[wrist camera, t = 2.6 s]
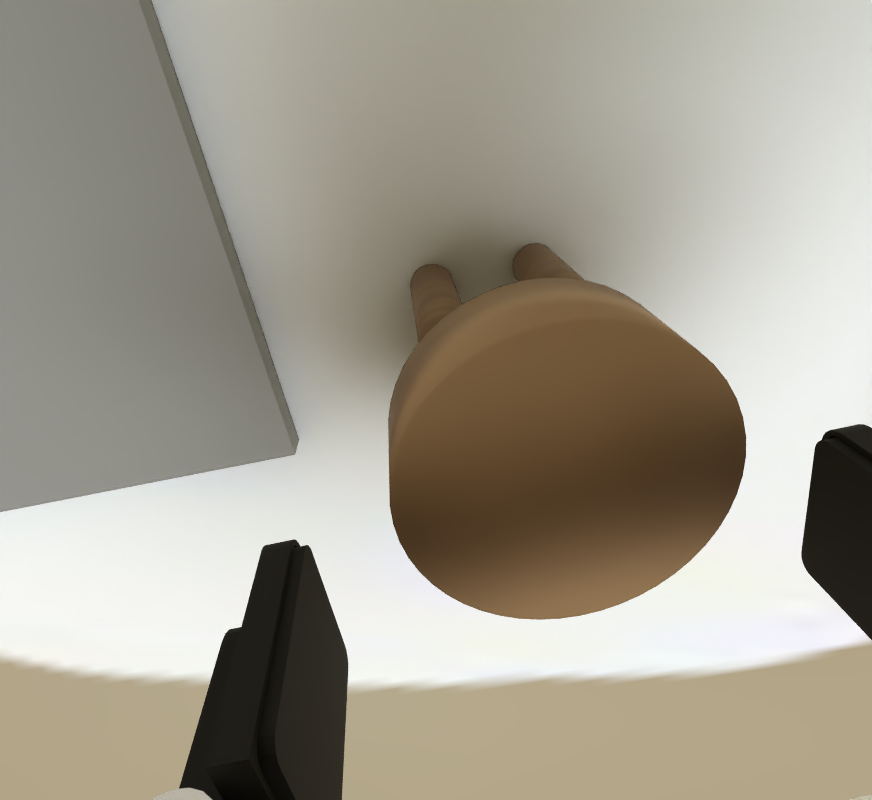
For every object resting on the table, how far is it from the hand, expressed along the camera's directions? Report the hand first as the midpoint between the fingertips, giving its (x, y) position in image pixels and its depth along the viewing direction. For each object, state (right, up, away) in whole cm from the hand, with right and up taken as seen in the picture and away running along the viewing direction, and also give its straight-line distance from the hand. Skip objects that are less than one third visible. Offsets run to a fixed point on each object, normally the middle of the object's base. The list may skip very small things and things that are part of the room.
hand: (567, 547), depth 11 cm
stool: (-1, +5, +9) cm, 11 cm away
